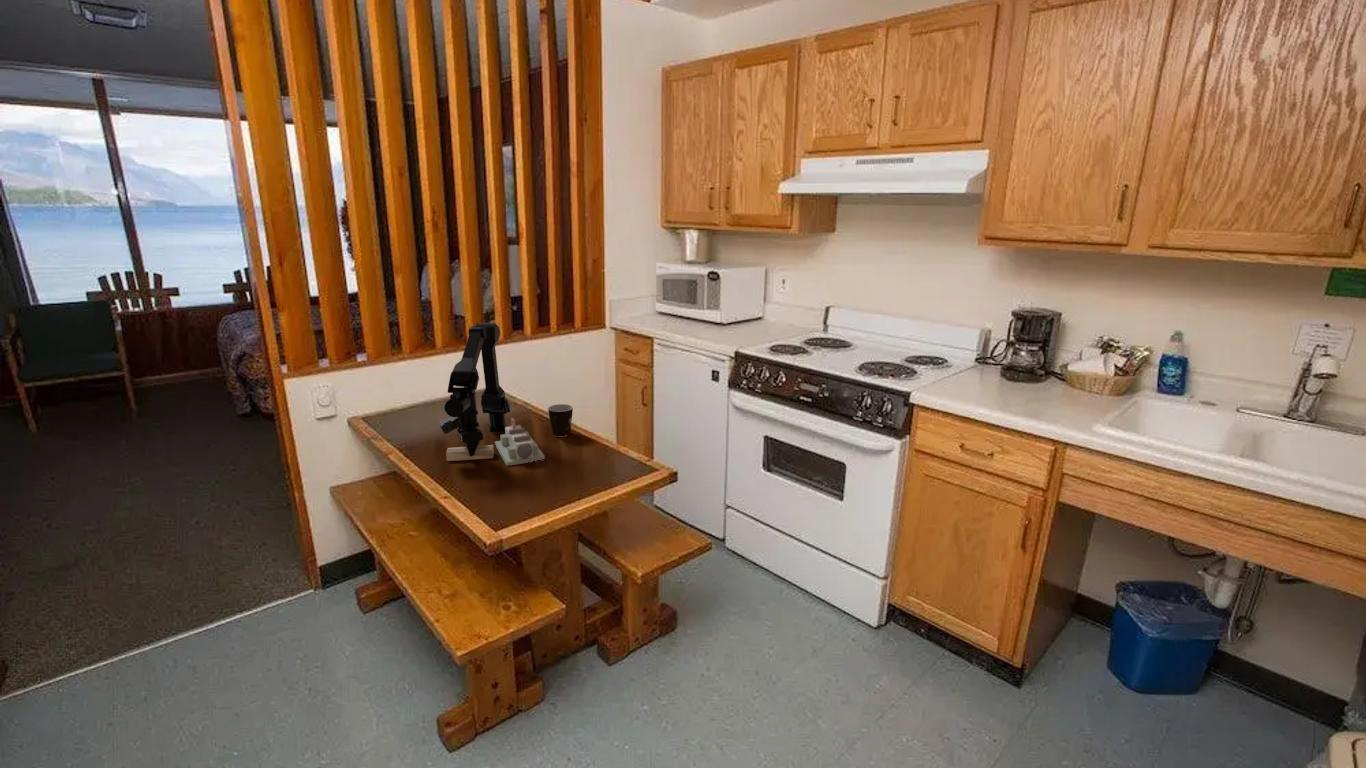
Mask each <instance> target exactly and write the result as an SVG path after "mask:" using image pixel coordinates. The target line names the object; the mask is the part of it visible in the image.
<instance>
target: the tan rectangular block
mask: <svg viewBox="0 0 1366 768" xmlns="http://www.w3.org/2000/svg"><path fill="white" fill-rule="evenodd" d="M494 451H495V450H494V444H487V445H486V444H485V445H478V446H477V448H476V451H475V453H474V456H470V455H469V452H468V448H467V447H466V446H459V447H458V446H457V447H447V449H446V453H445V454H446V455H445V456H446V462H454V461H470V460H483V459H494V454H495V453H494Z"/></svg>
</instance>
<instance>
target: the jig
mask: <svg viewBox="0 0 1366 768" xmlns="http://www.w3.org/2000/svg"><path fill="white" fill-rule="evenodd" d="M504 432H505V433H504V434H500V436H499V437H500V440H496V441H494V445H496V446H495V447H496V449H497V451H498V452H499V454H500V457H501V458H502V460H503V462H504V464H505V465H506V467H508V466H515V465H521V464H527V463H528V462H529V463H533V461H535V462H538V461H537V460H541V461H543V460H542V459H545V460H546V456H545V454H544V453H543V452H542V451H541V449H540V448H539V445H538V444H537V443H536V442H535V441H534V439H533V438H532V437H531V435H530V433H529V431H527V430H526V428H525V427H522V426H521V425H520V424H518V425H516V420H515V418H514V417H510V425H509V426H508V427H505V429H504ZM529 463H528V464H529Z"/></svg>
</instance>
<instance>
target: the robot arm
mask: <svg viewBox="0 0 1366 768" xmlns="http://www.w3.org/2000/svg"><path fill="white" fill-rule="evenodd" d="M500 334H501V329H500V327H499V325H497V324H496V323H492V322H491V323H489V322H487V323H486V322H485V323H484V322H477V323H476V325H473V326H470V327H469V329H468V337H467V340H466V343H465V347H464V350H463V353H462V357H461V359H460V361H458V362H457V363H455V365H454V367H453V369H452V371H451V372H450V376H449V380H448V388H447V393H448V394H450V396H449V397H450V398H449V399H448V400H447V401H446V402H445V404H444V406H443V408H444V412H445V413H446V414H447V415H448V417H446V418H443V419H442V420H441V419H440V421H439V422H438V424H439V427H440V429H441V430H442V433H443V434H444V435H446V434H449V433H450V432H452V431H455V430H457V433H458V434H460V440H461V442H462V443H464V444H465V447H467V448H468V452H469V455H470V456H474V453H475V451H476V448H477V446H479V444H480V442H481V441H483V440H484V433H483V431H482V430H481V429H480V428H479V427H480V426H479V425H480V424H479V422H478V415H479V412H478V409H477V395H476V391H477V390H478V385H479V381H480V375H479V371H478V369H477V365H478V361H479V357H480V355H481V358H482V359H481V360H482V361H481V362H482V368H483V375H484V376H483V377H484V387H485V388H484V391H483V392H482V394H481V396H480V398H481V399H480V404H481V409H482V413H483V414H488V423H489V424H486V425H487V426H486V427H487V429H488V428H489V429H488V430H489V432H493V431H495V430H496V431H502V430H501V429H504V430H505V427H509V426H508V425H507V423H506V415H507V414H508V413H510V412H511V403H510V402H509V400H508V398H507V397H506V392H505V390H504V389H503V388H502V387H501V385H500V382H499V381H500V380H499V379H500V378H499V372H498V371H499V370H498V361H497V352H496V346H497V343H498V342H499V340H500Z"/></svg>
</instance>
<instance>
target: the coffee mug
mask: <svg viewBox="0 0 1366 768" xmlns="http://www.w3.org/2000/svg"><path fill="white" fill-rule="evenodd" d="M573 409H574V406H572V405H570V404H563V403H561V404H560V403H558V404H553V405H550V406H548V408H547V410H548V411H547V412H548V417H549V422H550V428H551V435H552V434H553V435H556V436H565V435H569V434H570V433H572V432H571V431H572V422H573ZM553 435H552V436H553ZM570 435H571V434H570Z"/></svg>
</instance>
